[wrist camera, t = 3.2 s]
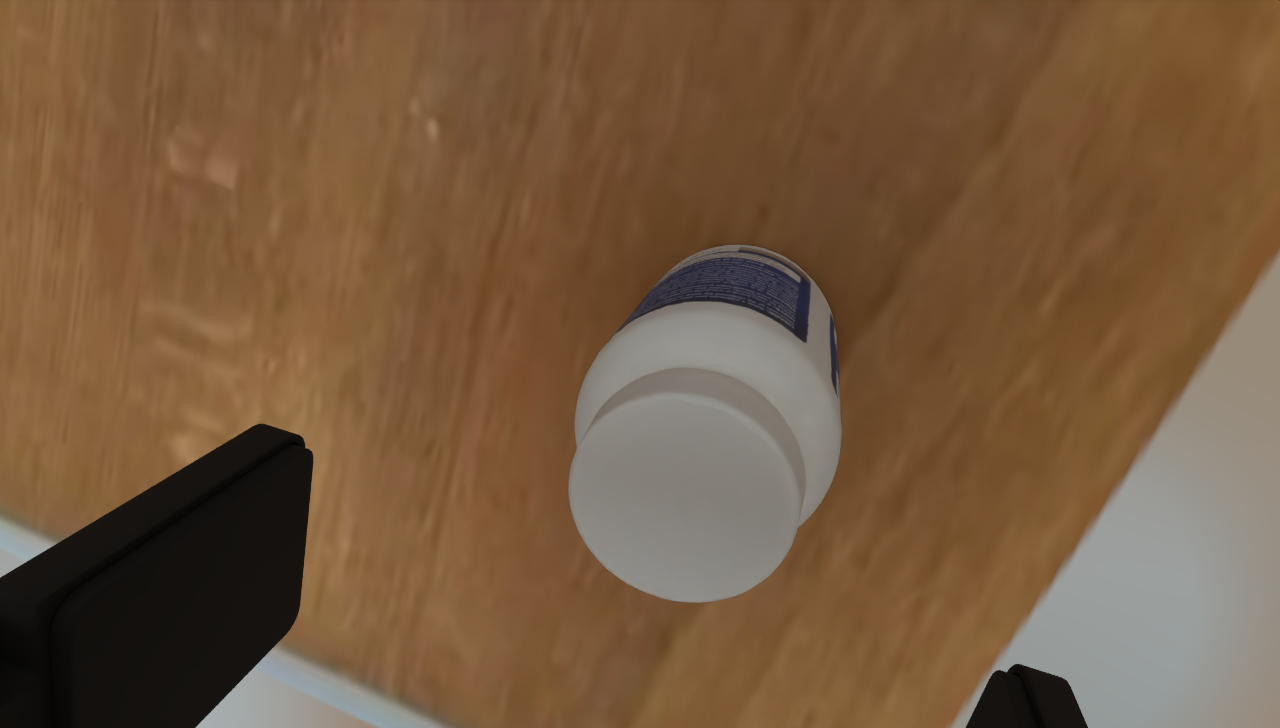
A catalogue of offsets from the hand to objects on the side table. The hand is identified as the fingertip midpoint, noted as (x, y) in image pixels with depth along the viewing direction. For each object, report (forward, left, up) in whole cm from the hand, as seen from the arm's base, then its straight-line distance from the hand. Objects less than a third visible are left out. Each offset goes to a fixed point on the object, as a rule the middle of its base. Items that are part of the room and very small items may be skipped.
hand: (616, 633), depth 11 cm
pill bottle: (0, 0, -13) cm, 13 cm away
